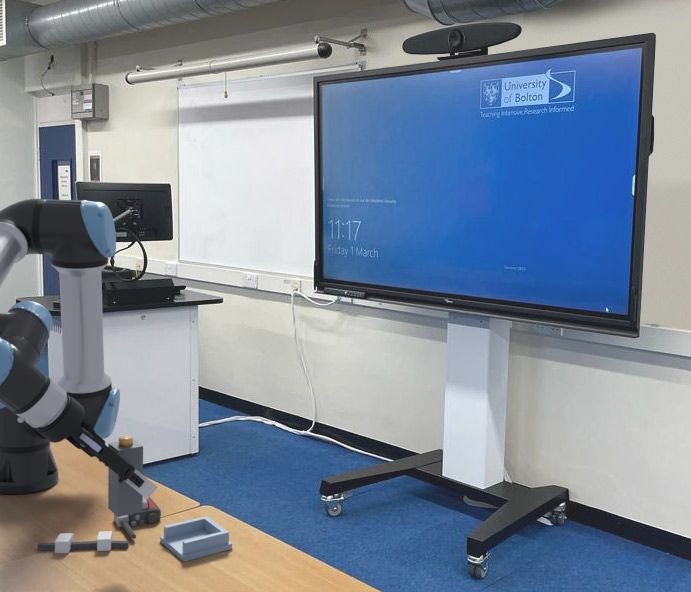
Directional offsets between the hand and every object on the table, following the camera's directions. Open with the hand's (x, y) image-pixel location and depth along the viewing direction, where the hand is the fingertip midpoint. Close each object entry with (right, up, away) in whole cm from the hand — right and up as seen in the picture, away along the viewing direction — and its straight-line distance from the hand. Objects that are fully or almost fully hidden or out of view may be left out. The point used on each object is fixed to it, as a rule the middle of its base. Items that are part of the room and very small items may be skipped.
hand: (145, 487), depth 138 cm
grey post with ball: (-3, -3, -2) cm, 5 cm away
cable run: (-13, -12, +5) cm, 18 cm away
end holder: (+8, -13, +8) cm, 17 cm away
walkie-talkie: (-7, -12, +18) cm, 23 cm away
